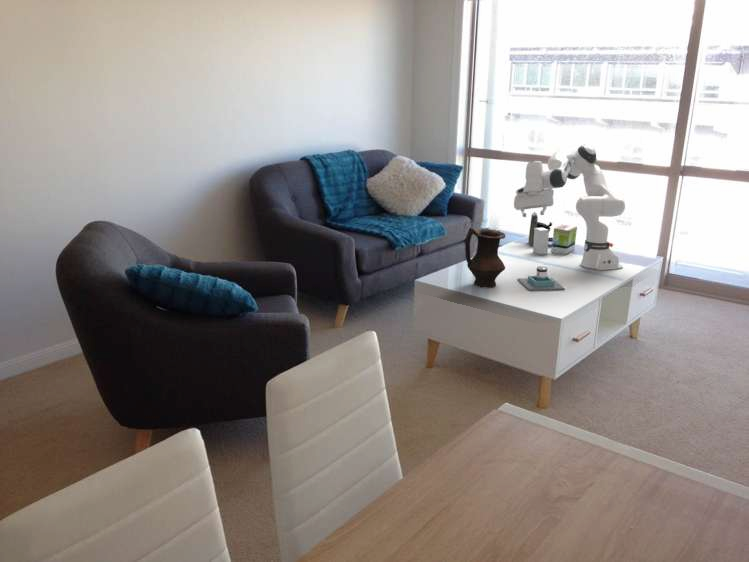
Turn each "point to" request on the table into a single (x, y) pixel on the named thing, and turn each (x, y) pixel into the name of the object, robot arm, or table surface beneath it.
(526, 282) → the stand
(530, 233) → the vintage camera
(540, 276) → the glass jar
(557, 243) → the tea box
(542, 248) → the skincare box
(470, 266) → the jug
